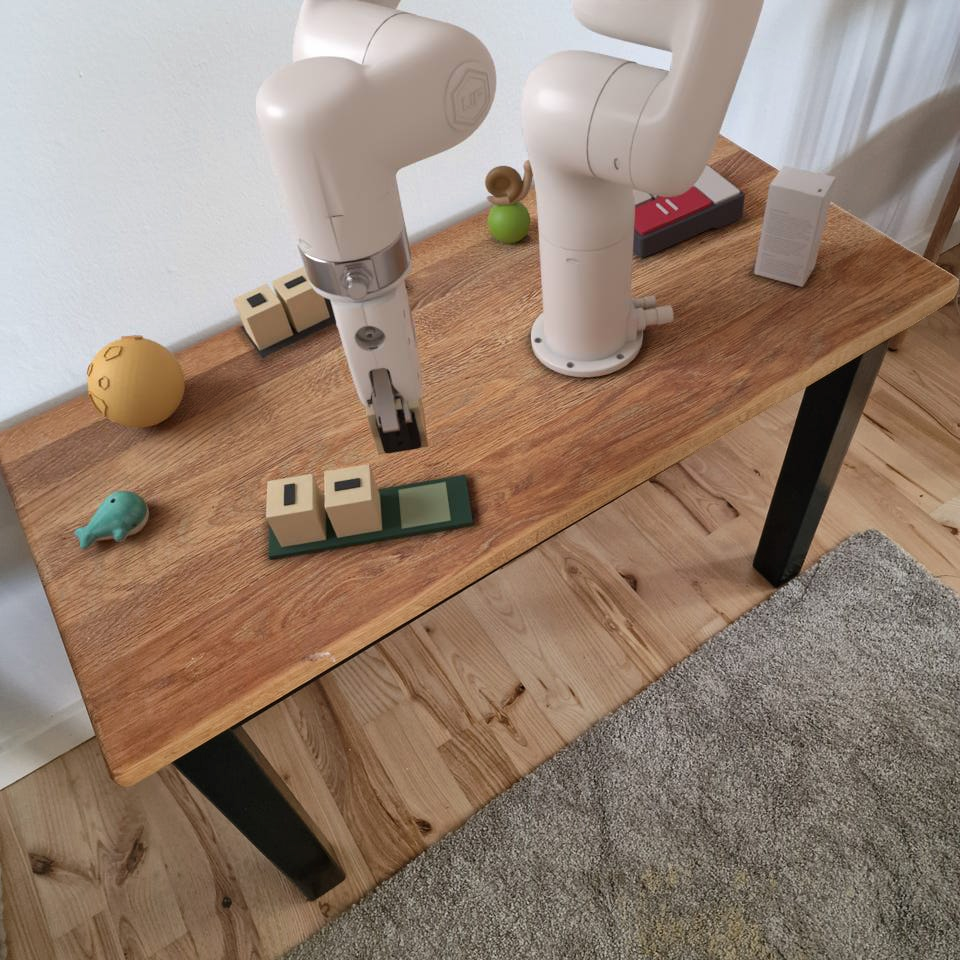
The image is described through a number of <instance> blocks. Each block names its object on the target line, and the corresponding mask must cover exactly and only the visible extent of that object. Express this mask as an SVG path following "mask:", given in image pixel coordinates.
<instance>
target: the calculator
mask: <svg viewBox="0 0 960 960" xmlns="http://www.w3.org/2000/svg"><path fill="white" fill-rule="evenodd" d="M633 194H634V200H635V223H634V240H633V253H634V254H636V255H637V256H638V258H640V259H644V258H646V257H649V256H651V255H653V254H655V253H657V252H660V251H662V250H665V249H667V248H670V247H671V246H673V245H676V244H678V243H681V242H684V241H685V240H687V239H690V238H692V237H694V236H696V235H699V234H701V233H703V232H705V231H706V232H707V231H708V230H710V229H722V228H724V227H725V226H728V225H731V224H732V223H735V222H738V221H739V220H741V219H742V218H743V213H744V205H745V196H746V194H745V193H744V191H743V190H741V189H740V188H738V187H737V186H736V185H735V184H733V183H732V182H731V181H729V179H727V178H726V177H725V176H723V175H722V174H720V172H718V171H717V170H716V169H715V168H713V167H712V166H711V165H710V164H708V163H707V165H706V167H705V169H704V171H703V173H702V175H701V176H700V178H699V179H698V181H697V182H696V183H695V184H694V185H693V186H692V187H691V188H690V189H689V190H688V191H686V192H685V193H683V194H681V195H678V196H674V197H661V196H656V195H652V194H648V193H645V192H642V191H639V190H635V189H633Z"/></svg>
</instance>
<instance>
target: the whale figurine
mask: <svg viewBox="0 0 960 960" xmlns="http://www.w3.org/2000/svg"><path fill="white" fill-rule="evenodd" d="M149 516H150V512H149V506H148V505H147V503H146V501H145V500H144V499H143V498H142V496H140V494H138V493H135V492H133V491H131V490H118V491H115V492H112V493H110V494H109V495H108V496H107V497H106V498H105V500H104V501H102V502H101V503H99V507H98V509H97V510H96V511H95V513H94V514H93V516H92V517H91V519H90V521H89V522H88V524H87V525H85V526H81V527H80V526H79V527H78V528H76V529H75V531H74V536H75V537H76V538H77V539H78V540H79V547H80V549H81V550H83V551H87V550H88V549H90V548H92V547H93V545H94V544H95V543H96V542H98V541H108V540H114V541H115V542H117V543H122V542H124V541H125V540H126V539H127V538H128V537H129V536H134V535H135V534H138V533H139V532H140V531H142V530H143V529H144V527H145V526H146V524H147V523H148V520H149V518H150V517H149Z"/></svg>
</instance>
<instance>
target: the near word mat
mask: <svg viewBox="0 0 960 960" xmlns="http://www.w3.org/2000/svg"><path fill="white" fill-rule="evenodd" d="M323 475H324V476H323V477H324V480H323V481H324V484H323V485H324V497H323V495H322V492H321V489H320V488H319V485H318V483H317V480H316V478H315V476H314V474H313V473H308V474H302V475H296V476H295V475H294V476H290V477H285V478H279V479H273V480H267V483H266V510H265V511H266V512H265V519H266V520H267V522H268V524H269V528H268V529H269V533H268V555H267V556H268V559H269V560H270V561H271V560H277V559H282V558H289V557H295V556H301V555H306V554H312V553H319V552H324V551H331V550H337V549H342V548H348V547H354V546H361V545H366V544H371V543H378V542H384V541H389V540H395V539H400V538H406V537H407V538H408V537H413V536H419V535H424V534H430V533H434V532H435V533H436V532H441V531H449V530H454V529H459V528H467V527H472V526H474V518H473V512H472V505H471V498H470V493H469V486H468V481H467V479H468V478H467V475H466V474H459V475H454V476H453V475H452V476H449V477H442V478H437V479H431V480H430V479H429V480H425V481H419V482H413V483H406V484H400V485H395V486H390V487H383V488H378V485H377V482H376V480H375V476H374V474H373V470H372V467H371V464H370V463H366V464H359V465H354V466H348V467H343V468H337V469H331V470H326V471H325V470H324V472H323Z"/></svg>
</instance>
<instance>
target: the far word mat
mask: <svg viewBox="0 0 960 960" xmlns="http://www.w3.org/2000/svg"><path fill="white" fill-rule="evenodd" d="M271 285H272V287H273V290H274V291H273V290H272V289H271V287H270V286H269V285H268V284H267V283H265V284H263V285H261V286H259V287H257V288H254V289H252V290H250V291H247V292H245V293H243V294H240V295H239V296H237V297H234V298H232V301H233V303H234V306H235V308H236V311H237V313H238V316H239V318H240V320H241V323H242V326H240V329H241V330H242V332H243V333H244V335H245V336H246V338H247V340H249V342H250V343H251V345H252V346H253V347H254V349H255V350H256V352H257V353H258V355H259V356H260V357H261V358H262V359H264V358H265V357H268V356H270V355H272V354H274V353H277V352H278V351H281V350H283V349H285V348H286V347H289V346H291V345H292V344H293V345H294V343H297V342H299V341H301V340H303V339H305V338H308V337H309V336H311V335H313V334H315V333H318V332H320V331H322V330H324V329H326V328H328V327H331V326H332V325H334V324H336V319H335V316H334V312H333V308H332V304H331V301H330V300H329V299H327V298H324V297H322V296H321V295H319V294H318V293H316V292H315V291H314V290H313V288H312V287H311V285H310V282H309V279H308V277H307V273H306V270H305V267H304V266H302V267H300V268H298V269H295V270H293V271H292V272H289V273H287V274H285V275H283V276H280V277H278V278H276V279H274V280H272V281H271ZM405 286H406V290H407V289H408V288H409V287H408V286H407V285H406V284H405Z"/></svg>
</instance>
